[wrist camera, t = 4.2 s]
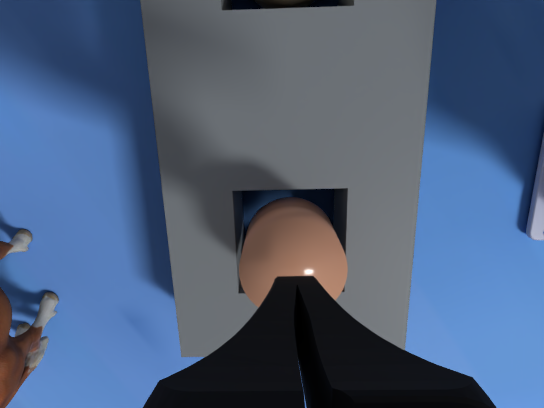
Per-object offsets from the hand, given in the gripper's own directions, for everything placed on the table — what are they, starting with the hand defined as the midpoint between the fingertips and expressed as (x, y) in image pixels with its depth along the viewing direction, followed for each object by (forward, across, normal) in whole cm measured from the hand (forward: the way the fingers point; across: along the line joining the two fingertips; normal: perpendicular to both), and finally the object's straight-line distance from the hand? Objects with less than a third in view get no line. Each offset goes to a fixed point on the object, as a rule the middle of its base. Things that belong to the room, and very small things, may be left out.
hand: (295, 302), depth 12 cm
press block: (+9, 0, -6) cm, 11 cm away
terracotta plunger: (+6, 0, 0) cm, 6 cm away
